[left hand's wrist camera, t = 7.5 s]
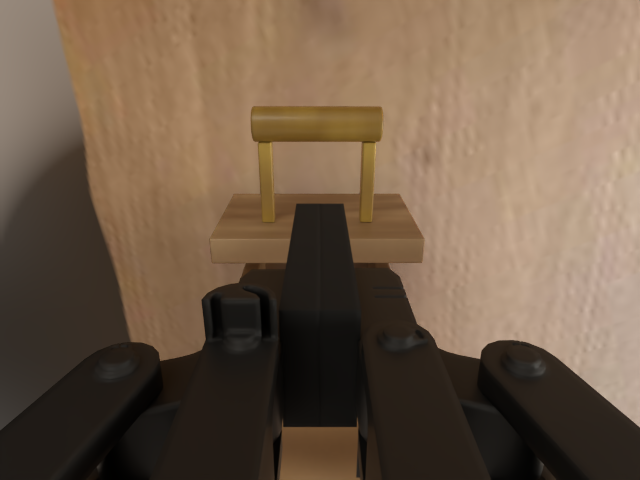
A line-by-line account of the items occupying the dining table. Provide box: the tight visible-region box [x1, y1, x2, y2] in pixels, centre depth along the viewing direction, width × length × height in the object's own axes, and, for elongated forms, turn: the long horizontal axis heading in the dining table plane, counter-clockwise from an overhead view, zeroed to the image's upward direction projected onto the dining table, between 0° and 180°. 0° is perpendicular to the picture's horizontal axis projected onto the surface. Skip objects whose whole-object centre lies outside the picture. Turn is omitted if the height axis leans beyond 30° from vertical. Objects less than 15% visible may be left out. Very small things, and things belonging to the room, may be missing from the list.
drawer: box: [210, 106, 425, 277], centre depth 25 cm, size 22×10×7 cm, turn 0°
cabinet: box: [280, 418, 360, 480], centre depth 30 cm, size 18×11×9 cm, turn 0°
